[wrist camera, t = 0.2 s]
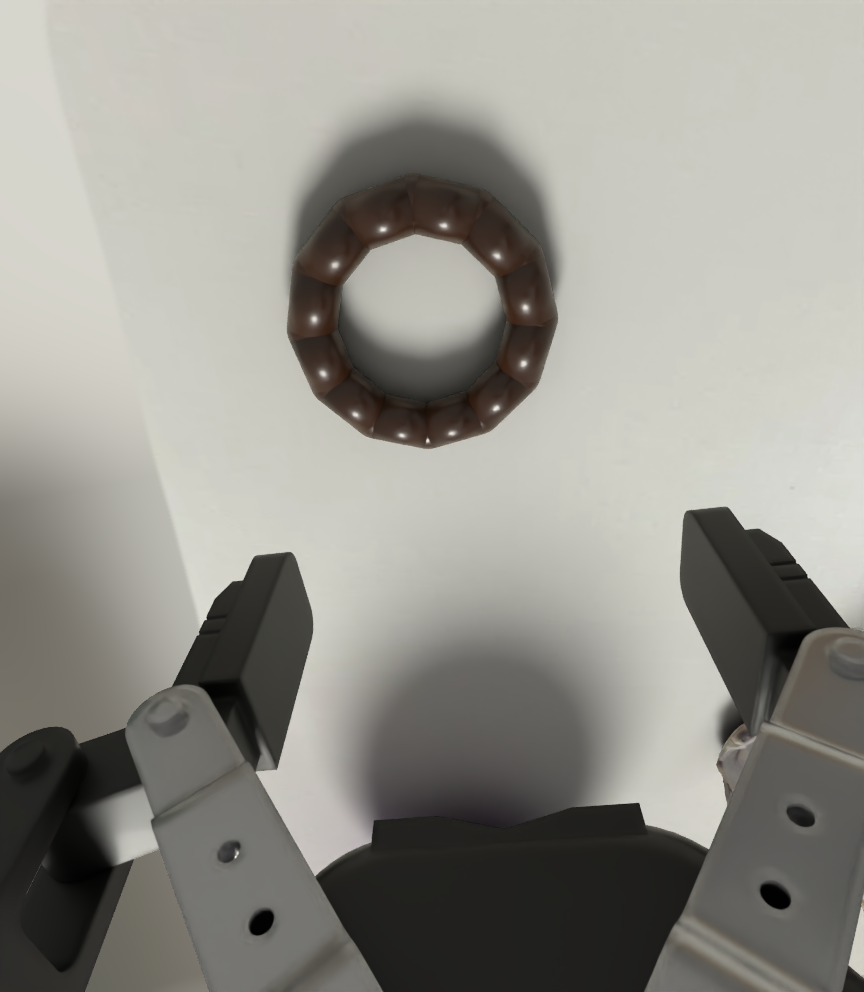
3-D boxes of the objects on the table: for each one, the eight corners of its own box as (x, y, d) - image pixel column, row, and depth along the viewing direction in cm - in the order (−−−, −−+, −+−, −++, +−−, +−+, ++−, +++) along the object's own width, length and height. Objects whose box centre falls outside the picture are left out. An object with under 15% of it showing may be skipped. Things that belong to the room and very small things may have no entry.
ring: (244, 327, 24) (231, 341, 23) (408, 107, 21) (405, 106, 19) (432, 476, 27) (431, 497, 26) (604, 308, 24) (615, 321, 22)
